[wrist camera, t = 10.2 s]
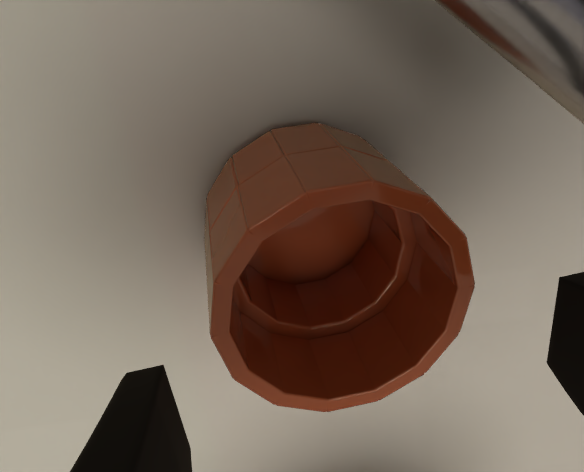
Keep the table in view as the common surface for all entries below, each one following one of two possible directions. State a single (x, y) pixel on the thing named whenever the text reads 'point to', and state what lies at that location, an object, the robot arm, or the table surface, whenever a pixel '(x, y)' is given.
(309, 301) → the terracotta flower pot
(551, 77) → the drawer
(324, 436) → the table surface
